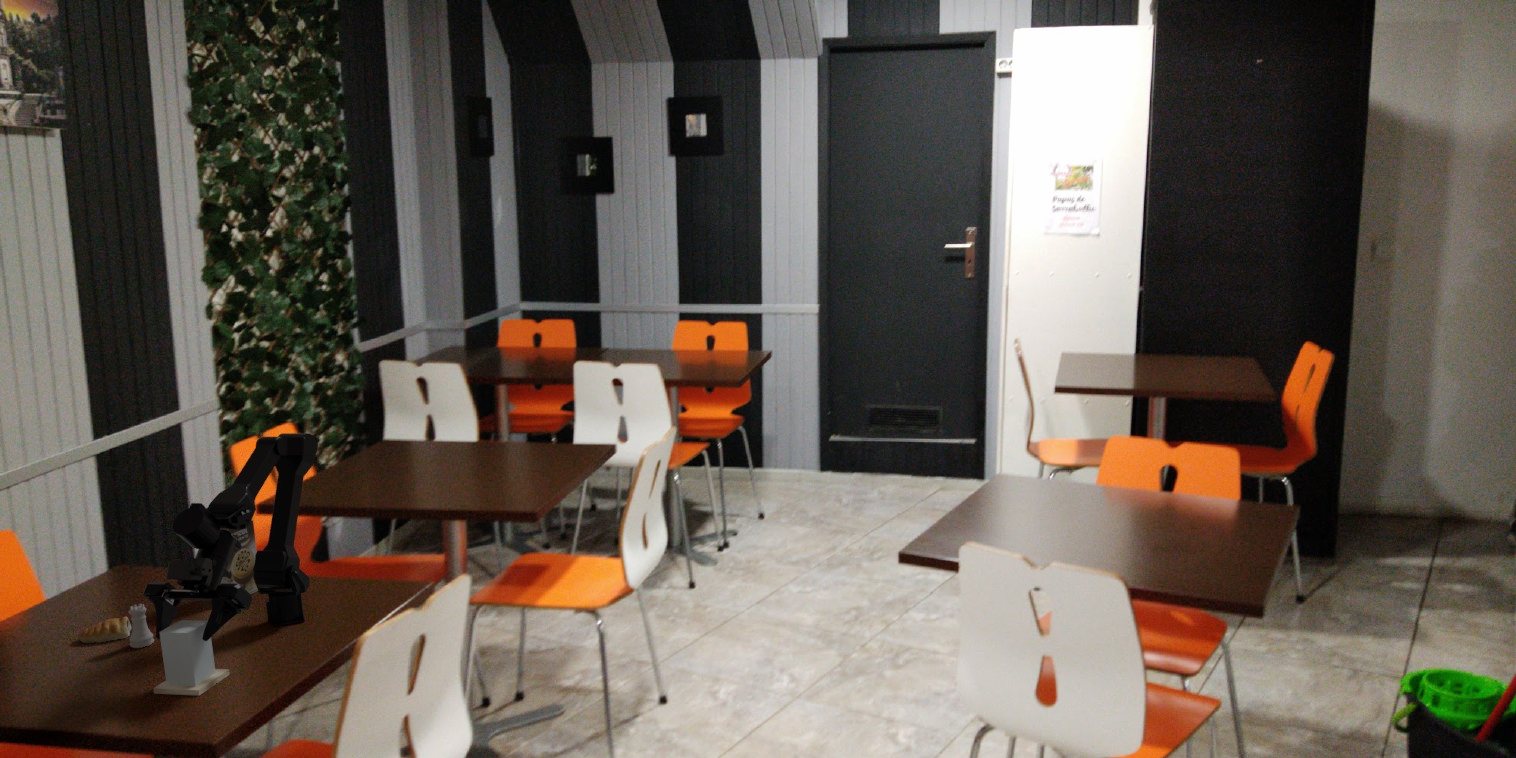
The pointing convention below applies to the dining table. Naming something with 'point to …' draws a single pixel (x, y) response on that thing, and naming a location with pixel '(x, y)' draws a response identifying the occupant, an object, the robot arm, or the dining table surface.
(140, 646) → the rook chess piece
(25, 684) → the dining table surface
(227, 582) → the coffee box
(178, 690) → the post board
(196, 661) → the grey tall rectangular block
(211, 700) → the dining table surface
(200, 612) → the dining table surface
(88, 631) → the pastry
